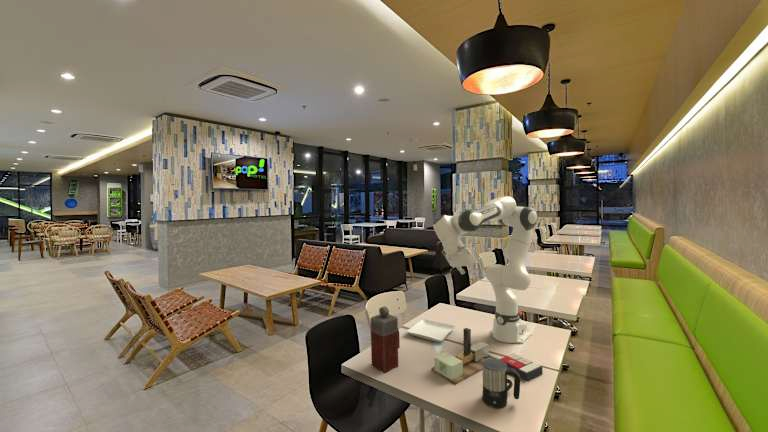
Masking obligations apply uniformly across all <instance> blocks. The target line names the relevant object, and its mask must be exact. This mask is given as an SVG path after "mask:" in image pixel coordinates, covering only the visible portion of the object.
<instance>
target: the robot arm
mask: <svg viewBox="0 0 768 432" xmlns="http://www.w3.org/2000/svg"><path fill="white" fill-rule="evenodd" d="M481 207H482V208H480V209H466V210H465V211H463V212H461V213H458V214H457V215H446V214H441V215H440V216H439V217H437V218H436V219H434V221H433V222H432V226H433V230H434V232H435V234H436V236H437V238H438V239H439V240H440V242H441V244H442V247H443V249H442V251H441V253H442V256H444V257H445V259H446V261H447V263H448V264H449V266H450V267H452V268H456V269H457V271H459V273H460V275H464V274H466V271H465V269H463V268H462V267H468V268H469V272H470V274H471V275H473V274H475V273H476V270H475V268H474V267H475V266H474V264H476V262H477V259H476V258H475V256H474V254H473V253H472V251H471V250H470V249H469V248H468V247H466V246H465V245H464V243H463V241H462V239H461V238H460V236H461V235H465V234H467V233H470V232H475V231H477V230H479V228H480V227H482V225H483V224H484V223H485V222H491V223H492V222H496V221H498V222H499V224H500V225H502V226H505V227H512V232H511V234H510V236H509V238H508V241H507V244H506V247H505V249H504V256H505V257H506V259H507V260H508V264H507V265H503V264H500V263H499V264H494V263H492V264H489V265H488V266H487V268H486V270H485V277H486V279H487V281H489V283H490V284H491V287H492V289H493V292H494V296H495V310H494V311H495V312H494V318H493V323H492V329H491V330H490V332H491V333H492V337H493V338H494V339H495V340H496V341H499V342H502V343H507V344H513V343H514V344H524V343H525V342H526V341H527V340H528V339H529V338H530V337H531V336H532V331H529V330H528V324H527V323H526V322H525V321H523V320H522V319H521V317H520V316H522V315H523V312H522V311H520V310H518V309H519V301H518V297H517V295H516V294H515V293H514V292H513V291H512V290H515V291H526V290H527V289H528V288H529V287H530V286H531V282H532V279H531V276H530V273H528V271H527V267H526V261H527V257H528V253H529V249H530V248H531V244H532V240H533V233H534V231H533V228H534V227H535V225H536V224H537V222H538V219H539V216H538V212H537V210H536V209H535V208H533V207H530V206H520V205H519V206H517V203H516V200H515V199H514V198H513V197H512V196H509V195H506V196H505V195H504V196H499V197H496V198H493V199H491V200H489V201H487V202H486V203H484V204H483V205H482V206H481Z"/></svg>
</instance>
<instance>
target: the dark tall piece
mask: <svg viewBox="0 0 768 432" xmlns="http://www.w3.org/2000/svg"><path fill="white" fill-rule="evenodd" d="M462 332H463V338H462V339H463V344H462V345H463V352H461V353H460V354H458V355H455V357H456V358H458V359H460V360H462V361H463V364H465V363H467V362H469V361H471V360H473V359H475V352H473V351H471V346H472V344H471V341H472V337H471V336H472V333H471V332H472V330H471V329H470V328H468V327H465V328H463V331H462Z"/></svg>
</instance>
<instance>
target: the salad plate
mask: <svg viewBox="0 0 768 432" xmlns="http://www.w3.org/2000/svg"><path fill="white" fill-rule="evenodd" d="M454 329H456V325H453V324H448V323H443V322H440V321H435V320H432V319H431V320H430V319H425V318H422V319H421V320H419V321H418V322H417V323H415V324H414V325H412V326H411V327H410V328H409V329H408V330H406V332H407V334H408V335H409V334H410V335H411V336H413V337H416V338H420V339H424V340H429V341H433V342H437V343H441V342H443V341H444V340H445V339H446V337H447V336H448V335H449V334H450V333H452V331H454Z"/></svg>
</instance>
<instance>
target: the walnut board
mask: <svg viewBox="0 0 768 432" xmlns="http://www.w3.org/2000/svg"><path fill="white" fill-rule="evenodd" d="M488 358H496V357H495V356H492V355H490V357H488ZM484 359H486V358H484V357H483V358H482V359H480V360H481V361H480V362H478V363H475V362H473V361H469V362H467V363H465V364H463V375H461V376H459V377H457V378H455V379H453V380H450V379H449V378H447V377H445V376H444V375H442V374H440V373H439V372H437V371H435V366H432V367H431V371H432V372H434V373H435V374H437V375H439V377H441V378H443V379H446V380H447V381H448V382H450V383H452V384H454V385H455V386H456V385H457V384H460V383H461V382H463V381H465V380H467V379H469V378H470V377H472V376H474V375H476V374H477V373H480V372H481V371H483V366H482V364H481V362H482V361H483V360H484Z"/></svg>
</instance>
